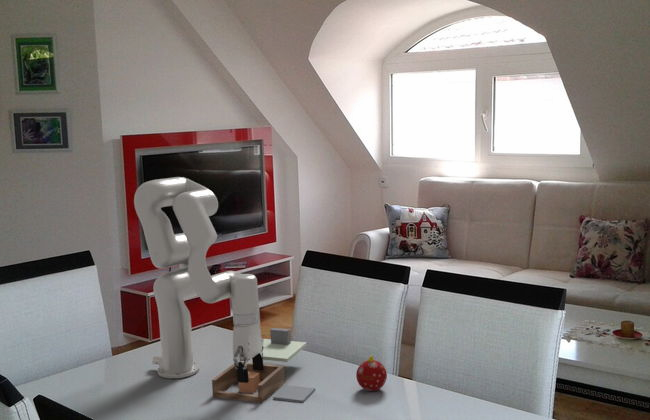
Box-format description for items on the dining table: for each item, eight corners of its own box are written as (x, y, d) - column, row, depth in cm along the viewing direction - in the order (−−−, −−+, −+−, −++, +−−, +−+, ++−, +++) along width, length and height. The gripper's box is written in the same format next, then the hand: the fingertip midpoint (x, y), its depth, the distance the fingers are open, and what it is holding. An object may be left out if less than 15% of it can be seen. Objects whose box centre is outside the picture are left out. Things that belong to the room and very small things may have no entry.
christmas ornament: (350, 391, 201) (349, 357, 200) (367, 382, 208) (366, 348, 207) (376, 398, 196) (375, 363, 195) (392, 388, 203) (392, 354, 202)
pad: (273, 399, 198) (273, 396, 198) (286, 386, 207) (286, 384, 206) (303, 402, 195) (303, 400, 195) (315, 390, 203) (315, 388, 203)
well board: (212, 396, 201) (211, 379, 201) (238, 377, 215) (237, 361, 215) (262, 402, 196) (261, 385, 195) (284, 382, 210) (284, 365, 209)
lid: (241, 357, 217) (240, 340, 216) (262, 341, 231) (261, 325, 231) (287, 362, 212) (286, 344, 211) (306, 345, 226) (306, 328, 225)
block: (239, 392, 204) (238, 376, 204) (246, 386, 209) (245, 371, 208) (253, 393, 203) (252, 378, 202) (260, 387, 207) (259, 372, 206)
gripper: (248, 309, 212) (252, 365, 214) (220, 326, 196) (225, 386, 198) (271, 310, 209) (275, 366, 211) (244, 327, 193) (249, 388, 195)
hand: (251, 376), depth 205 cm, fingers open, 9 cm apart
